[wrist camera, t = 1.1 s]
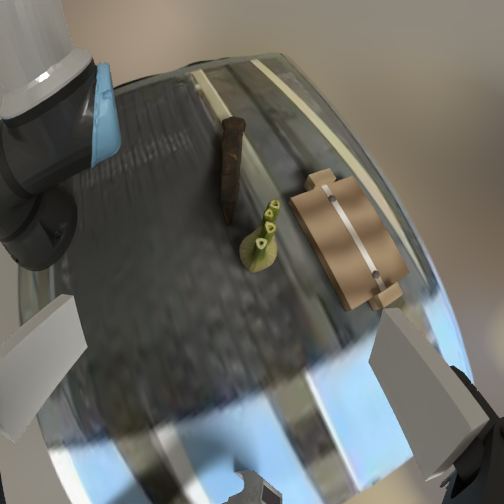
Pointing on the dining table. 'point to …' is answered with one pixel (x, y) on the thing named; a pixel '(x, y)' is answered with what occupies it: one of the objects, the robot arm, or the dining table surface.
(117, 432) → the dining table surface
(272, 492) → the hammer
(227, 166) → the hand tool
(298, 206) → the tan wooden board
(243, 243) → the fennel bulb
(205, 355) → the dining table surface
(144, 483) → the dining table surface
